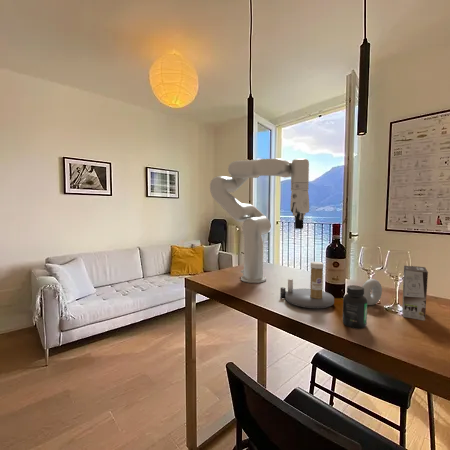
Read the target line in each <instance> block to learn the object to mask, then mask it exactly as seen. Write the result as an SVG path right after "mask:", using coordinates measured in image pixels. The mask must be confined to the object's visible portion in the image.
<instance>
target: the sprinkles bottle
mask: <svg viewBox="0 0 450 450" xmlns="http://www.w3.org/2000/svg"><path fill="white" fill-rule="evenodd" d="M323 273H324V263H323V262H321V261H311V262H310V286H309V287H310V288H309V289H311V295H310V297H312V298H315V299H321V298H322V297H323V296H322V291H323V288H324V287H323V286H324V285H323V284H324V283H323V282H324V280H323V279H324V278H323V277H324V274H323Z"/></svg>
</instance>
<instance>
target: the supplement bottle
mask: <svg viewBox="0 0 450 450" xmlns="http://www.w3.org/2000/svg"><path fill="white" fill-rule="evenodd" d="M363 295H364V288H363V287H362V286H360V285H351V284H350V285H347V287H346V294H344V296H343V297H342V298H343V300H342V323H343V325H345V326H346V327H347V328H352V329H355V330H362V329H364V328H366V327H367V323H368V322H367V320H368V305H367V298H366V297H365V296H363Z"/></svg>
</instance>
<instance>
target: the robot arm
mask: <svg viewBox="0 0 450 450" xmlns="http://www.w3.org/2000/svg"><path fill="white" fill-rule="evenodd" d="M309 162H310V161H309V159H308V158H295V159H293V160H292V161H290V160H286V159H282V158H262V159H251V160H250V159H248V160H244V159H243V160H235V161H231V162H230V164H228V167H227V172H228V174H229V175H230V176H226V175H218V176H215V177H213V178H212V179H211V180H210V183H209V191H210V194H211V197H212V199H213V200H214V201H215V202H216V203H217V204H218V205H219V206H220V207H221V208H222V209H223V210H224V211H225V212H226V213H227V214H228V215H229V216H230V217H231V218H232V219H233V220H234V221H235V222H237V223H242V225H241V226H242V229H241V231H242V236H243V237H242V238H243V268H242V269H241V270H240V273H242V276H241V277H240V281H242V282H244V283H249V284H251V283H252V284H260V283H264V282H266V281H267V277H266V276H265V275H264V242H263V238H262V236H263V235H267V234H268V233H269V232H270V230H271V228H272V224H271V221H270V219H269V218H268V217H267V216H266V215H265V214H264V213H262V211H260V210H259V209H258V208H257V207H256V206H255V205H253V204H250V203H243V202H241V201H240V200H239V199H237V198H236V197H235V196H234V195H233V194H231V193H234V192H237V190H238V189H240V188H241V187H242V186H243V184H244V183H246V182H247V181H248V180H249V179H250V178H251V179H258V178H259V177H265V176H271V177H273V176H274V177H281V178H290V191H291V194H290V203H289V204H290V206H289V207H290V208H289V209H290V212H291V213H292V216H293V217H294V229H295V230H297V229H298V230H303V229H304V219H305V215H306V214H307V213H309V212H310V198H309V197H310V195H309V188H310V187H309V184H310V183H309V178H310V176H309V173H310V163H309Z"/></svg>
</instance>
